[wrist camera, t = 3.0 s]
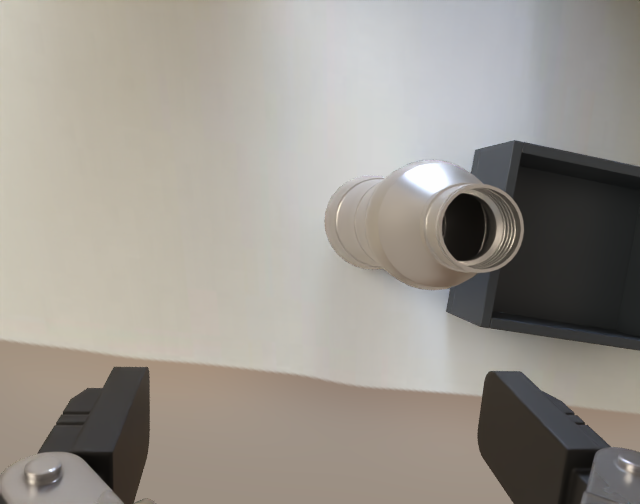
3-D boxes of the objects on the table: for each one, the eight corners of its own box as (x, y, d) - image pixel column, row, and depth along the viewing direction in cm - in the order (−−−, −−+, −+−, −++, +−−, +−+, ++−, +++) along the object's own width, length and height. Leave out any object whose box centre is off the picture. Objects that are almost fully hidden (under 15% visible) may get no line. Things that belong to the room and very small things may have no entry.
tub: (445, 311, 45) (480, 326, 39) (474, 149, 44) (514, 139, 38) (613, 337, 47) (669, 355, 41) (642, 184, 47) (703, 180, 41)
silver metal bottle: (386, 279, 44) (522, 333, 24) (303, 244, 43) (375, 271, 23) (420, 199, 44) (583, 188, 24) (338, 162, 43) (439, 118, 23)
